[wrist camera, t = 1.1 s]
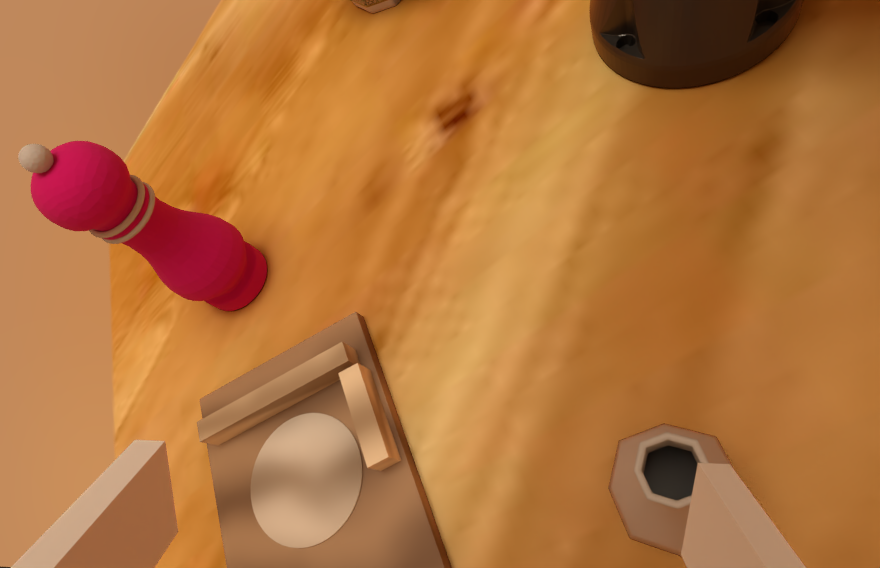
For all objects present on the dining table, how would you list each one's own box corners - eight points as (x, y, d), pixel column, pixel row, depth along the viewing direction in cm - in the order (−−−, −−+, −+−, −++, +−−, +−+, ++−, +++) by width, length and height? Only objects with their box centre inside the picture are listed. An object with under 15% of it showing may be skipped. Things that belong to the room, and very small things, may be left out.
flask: (756, 558, 31) (787, 565, 22) (615, 555, 33) (594, 560, 24) (730, 420, 33) (748, 380, 25) (602, 427, 36) (579, 392, 27)
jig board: (209, 402, 47) (181, 393, 45) (363, 316, 45) (342, 302, 43) (257, 675, 37) (223, 686, 35) (456, 582, 35) (438, 586, 33)
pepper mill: (263, 229, 53) (66, 81, 36) (280, 290, 49) (71, 159, 32) (200, 268, 54) (-21, 142, 37) (213, 331, 50) (-25, 224, 33)
